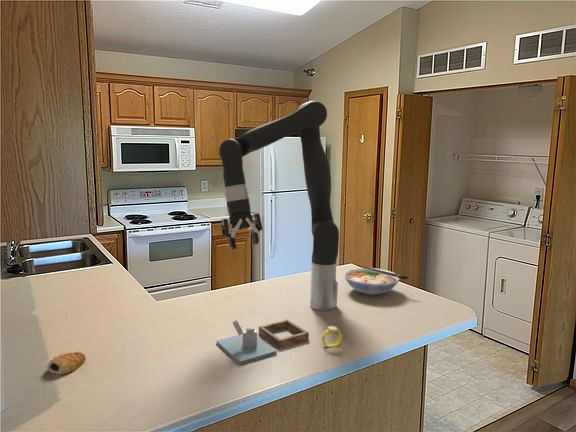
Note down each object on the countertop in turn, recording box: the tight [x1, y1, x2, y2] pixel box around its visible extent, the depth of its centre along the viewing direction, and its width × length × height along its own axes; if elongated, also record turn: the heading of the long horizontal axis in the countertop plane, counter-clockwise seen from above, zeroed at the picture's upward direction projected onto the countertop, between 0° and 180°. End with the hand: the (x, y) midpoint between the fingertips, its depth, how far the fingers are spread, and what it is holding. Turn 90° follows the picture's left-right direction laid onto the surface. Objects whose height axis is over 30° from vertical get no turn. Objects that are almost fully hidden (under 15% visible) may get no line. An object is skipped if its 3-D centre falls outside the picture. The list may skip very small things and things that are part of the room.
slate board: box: [216, 334, 278, 366], centre depth 130 cm, size 12×15×1 cm
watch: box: [321, 325, 343, 348], centre depth 132 cm, size 6×3×6 cm, turn 107°
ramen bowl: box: [343, 265, 409, 296], centre depth 181 cm, size 25×23×8 cm
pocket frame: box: [258, 319, 310, 349], centre depth 138 cm, size 11×12×2 cm
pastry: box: [46, 351, 86, 376], centre depth 118 cm, size 9×7×4 cm
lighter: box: [232, 319, 258, 347], centre depth 129 cm, size 7×2×8 cm, turn 104°
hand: (245, 246), depth 148 cm, fingers open, 8 cm apart
